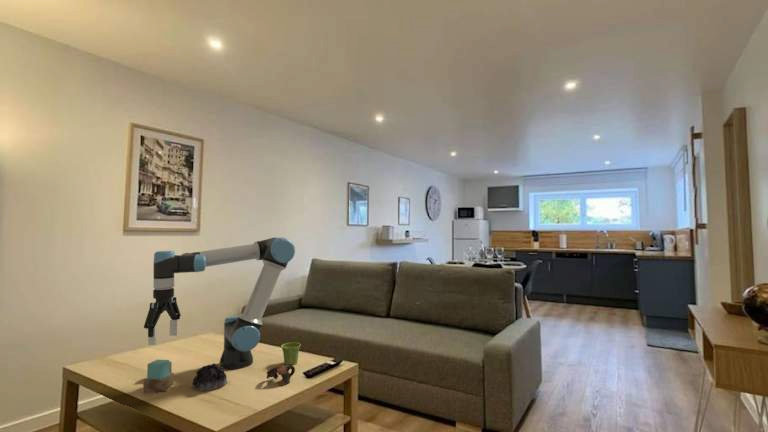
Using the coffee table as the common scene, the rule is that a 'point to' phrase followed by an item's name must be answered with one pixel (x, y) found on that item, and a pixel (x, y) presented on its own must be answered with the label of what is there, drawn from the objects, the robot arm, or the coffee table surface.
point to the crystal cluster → (209, 378)
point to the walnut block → (158, 384)
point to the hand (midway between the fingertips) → (163, 339)
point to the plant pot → (290, 352)
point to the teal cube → (158, 369)
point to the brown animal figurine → (281, 373)
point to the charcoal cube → (170, 367)
